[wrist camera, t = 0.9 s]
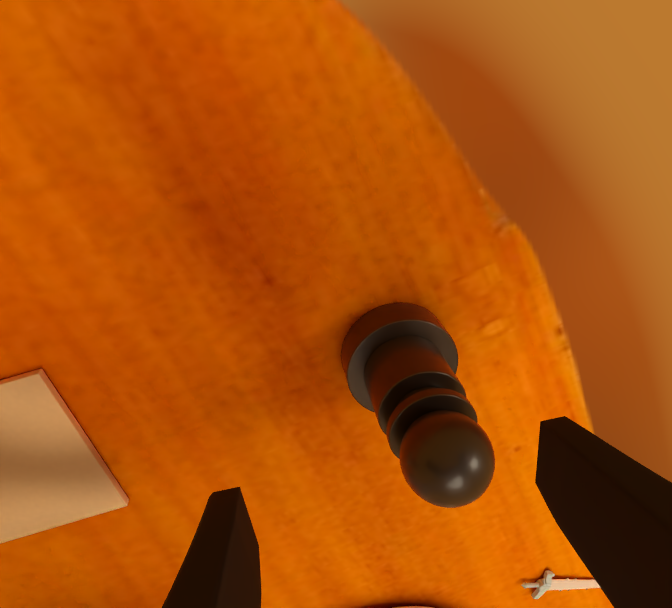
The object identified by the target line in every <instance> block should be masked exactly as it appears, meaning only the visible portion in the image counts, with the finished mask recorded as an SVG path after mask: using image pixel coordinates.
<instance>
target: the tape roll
mask: <svg viewBox="0 0 672 608" xmlns="http://www.w3.org/2000/svg"><path fill="white" fill-rule="evenodd" d="M394 608H433V607H423V606H405V607H394Z"/></svg>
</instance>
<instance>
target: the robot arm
mask: <svg viewBox="0 0 672 608" xmlns="http://www.w3.org/2000/svg"><path fill="white" fill-rule="evenodd" d="M535 483H536V485H537V487H538V488H539V490H540V492H541V494H542V496H543V498H544V500H545V502H546V504H547V506H548V508H549V510H550V511H551V513H552V515H553V517H554V519H555V521H556V522H557V524H558V526H559V527H560V529H561V530H562V532H563V533H564V535H565V536H566V538H567V539H568V541H569V542H570V544H571V545H572V547H573V548H574V550H575V551H576V552H577V554H578V555H579V557H580V558H581V560H582V561H583V563H584V564H585V566H586V567H587V569H588V570H589V571H590V573H591V574H592V576H593V577H594V579H595V580H596V582H597V583H598V585H599V586H600V587H601V589H602V590H603V592H604V593H605V595H606V596H607V598H608V599H609V601H610V602H611V603H612V605H613V606H614V608H672V483H671V482H670V481H668V480H666V479H664V478H663V477H661V476H659V475H658V474H656V473H654V472H653V471H651V470H650V469H648V468H646V467H645V466H643V465H641V464H640V463H638V462H636V461H635V460H633V459H632V458H630V457H628V456H627V455H625V454H624V453H622V452H621V451H619V450H617V449H616V448H614V447H612V446H611V445H609V444H608V443H606V442H605V441H603V440H602V439H600V438H599V437H597V436H596V435H594V434H592V433H591V432H589V431H588V430H586V429H585V428H583V427H581V426H580V425H578V424H577V423H575V422H573V421H572V420H570V419H569V418H567V417H565V416H564V417H559V418H554V419H550V420H545V421H541V423H540V434H539V446H538V458H537V470H536V482H535ZM162 608H261V576H260V559H259V545H258V542H257V539H256V536H255V532H254V529H253V526H252V523H251V520H250V517H249V514H248V511H247V508H246V505H245V502H244V499H243V496H242V493H241V489H240V487H236V488H231V489H227V490H222V491H218V492H213V493H212V494H211V496H210V497H209V499H208V502H207V505H206V507H205V510H204V513H203V515H202V518H201V521H200V523H199V526H198V528H197V531H196V533H195V536H194V538H193V540H192V543H191V545H190V548H189V550H188V552H187V555H186V557H185V559H184V561H183V563H182V566H181V568H180V570H179V572H178V574H177V577H176V579H175V581H174V583H173V585H172V588H171V590H170V592H169V594H168V596H167V598H166V600H165V602H164V604H163V606H162Z"/></svg>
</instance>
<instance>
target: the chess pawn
mask: <svg viewBox="0 0 672 608" xmlns="http://www.w3.org/2000/svg"><path fill="white" fill-rule="evenodd" d="M341 360H342V366H343V369H344V372H345V376H346V379H347V383H348V386H349V389H350V391H351V393H352V395H353V397H354V398H355V399H356V400H357V401H358V402H359V403H360V404H361V405H362V406H363V407H365V408H366V409H368V410H370V411H373V412H375V414H376V417H377V419H378V422H379V425H380V427H381V429H382V431H383V432H384V433H385V434H386V435H387V439H388V442H389V445H390V448H391V450H392V452H393V453H394V454H395V455H396V456H397V457H398V458H399V459H400V465H401V469H402V473H403V475H404V477H405V479H406V481H407V483H408V484H409V486H410V487H411V489H412V490H413V491H414V492H415V493H416V494H417V495H418V496H420V497H421V498H422V499H424V500H425V501H427V502H429V503H431V504H433V505H436V506H440V507H447V508H455V507H461V506H465V505H467V504H470V503H472V502H473V501H475V500H476V499H478V498H479V497H480V496H481V495H482V494H483V493H484V492H485V491H486V489H487V488H488V486H489V484H490V482H491V480H492V477H493V473H494V468H495V457H494V451H493V447H492V444H491V442H490V440H489V438H488V436H487V434H486V433H485V431H484V430H483V429H482V428H481V426H479V425H478V424H477V415H476V412H475V410H474V408H473V407H472V405H471V403H470V402H469V401H468V399H467V398H466V393H465V390H464V388H463V386H462V384H461V383H460V381H459V380H458V378H457V377H456V375H455V374H456V371H457V366H458V353H457V349H456V346H455V343H454V341H453V339H452V338H451V337H450V335H449V334H448V333H447V331H446V330H445V328H444V327H443V326H442V324H441V323H440V322H439V320H438V319H437V318H436V317H435V316H434V315H433V314H432V313H431V312H430V311H428V310H427V309H425V308H423V307H420V306H418V305H414V304H409V303H392V304H387V305H383V306H380V307H378V308H375V309H373V310H371V311H369V312H368V313H366V314H365V315H363V316H362V317H361V318H360V319H358V320H357V321H356V322H355V323H354V325H353V326H352V327H351V328H350V330H349V331H348V333H347V335H346V337H345V339H344V342H343V345H342V350H341Z"/></svg>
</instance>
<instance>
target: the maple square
mask: <svg viewBox="0 0 672 608" xmlns="http://www.w3.org/2000/svg"><path fill="white" fill-rule="evenodd" d="M128 502H129V499H128V497H127V496H126V494H125V493H124V491H123V490H122V488H121V487H120V485H119V484H118V482H117V481H116V479H115V478H114V476H113V475H112V473H111V472H110V470H109V469H108V467H107V466H106V464H105V463H104V461H103V460H102V458H101V457H100V455H99V454H98V452H97V451H96V449H95V448H94V446H93V444H92V443H91V441H90V440H89V438H88V437H87V435H86V434H85V432H84V431H83V429H82V428H81V426H80V425H79V423H78V422H77V420H76V419H75V417H74V416H73V414H72V413H71V411H70V410H69V408H68V407H67V405H66V404H65V402H64V401H63V399H62V398H61V396H60V395H59V393H58V392H57V390H56V389H55V387H54V386H53V384H52V383H51V381H50V380H49V378H48V377H47V375H46V374H45V372H44V371H43V369H38V370H35V371H31V372H28V373H24V374H21V375H17V376H14V377H11V378H7V379H4V380H0V544H1V543H4V542H7V541H11V540H14V539H17V538H21V537H24V536H28V535H31V534H34V533H38V532H41V531H44V530H48V529H51V528H54V527H58V526H61V525H65V524H68V523H71V522H75V521H78V520H81V519H85V518H88V517H91V516H95V515H98V514H102V513H105V512H108V511H112V510H115V509H118V508H122V507H125V506H127V505H128Z"/></svg>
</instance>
